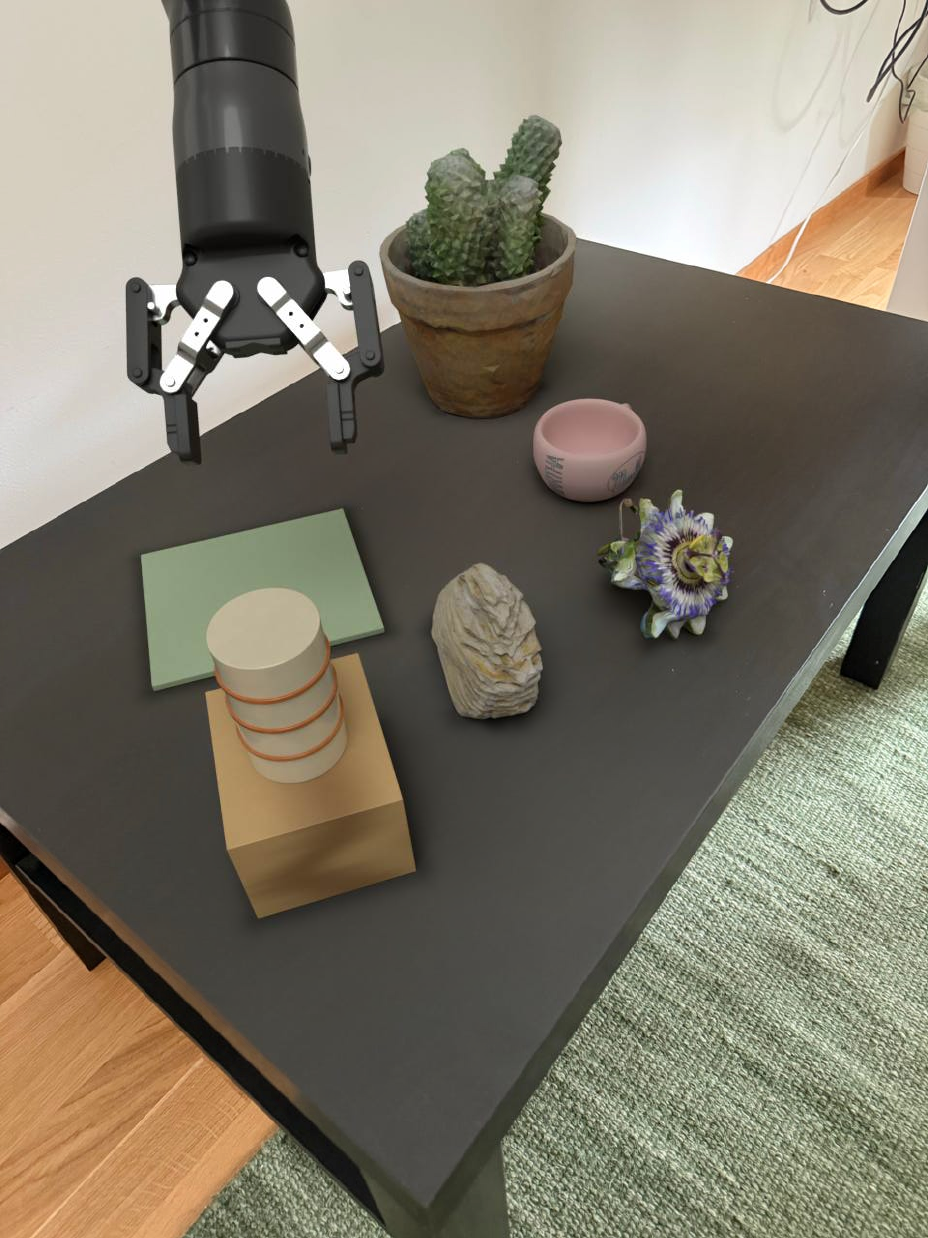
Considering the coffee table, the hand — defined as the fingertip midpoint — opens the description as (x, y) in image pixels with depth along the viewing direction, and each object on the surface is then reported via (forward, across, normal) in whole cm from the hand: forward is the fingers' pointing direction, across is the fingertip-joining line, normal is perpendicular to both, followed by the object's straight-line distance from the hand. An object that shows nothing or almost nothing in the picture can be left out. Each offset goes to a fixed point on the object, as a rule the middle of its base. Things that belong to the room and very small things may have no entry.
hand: (265, 457), depth 53 cm
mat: (+7, -6, +24) cm, 26 cm away
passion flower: (+10, +26, +21) cm, 35 cm away
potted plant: (-14, +14, +44) cm, 49 cm away
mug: (-2, +24, +33) cm, 41 cm away
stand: (+22, 0, +8) cm, 24 cm away
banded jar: (+17, 0, +3) cm, 17 cm away
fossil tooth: (+15, +12, +16) cm, 25 cm away
